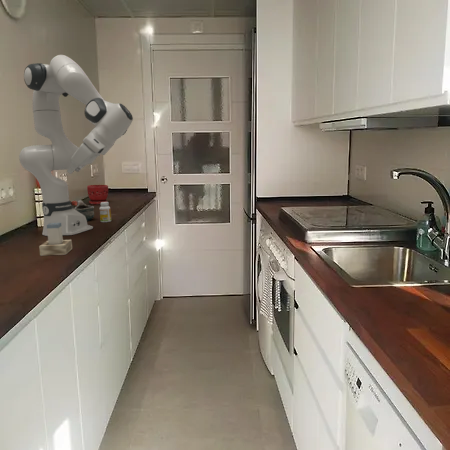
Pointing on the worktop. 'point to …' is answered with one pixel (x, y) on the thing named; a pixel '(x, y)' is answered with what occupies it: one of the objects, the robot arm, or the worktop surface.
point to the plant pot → (97, 197)
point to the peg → (54, 234)
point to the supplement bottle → (105, 212)
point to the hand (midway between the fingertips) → (72, 171)
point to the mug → (85, 210)
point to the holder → (55, 248)
